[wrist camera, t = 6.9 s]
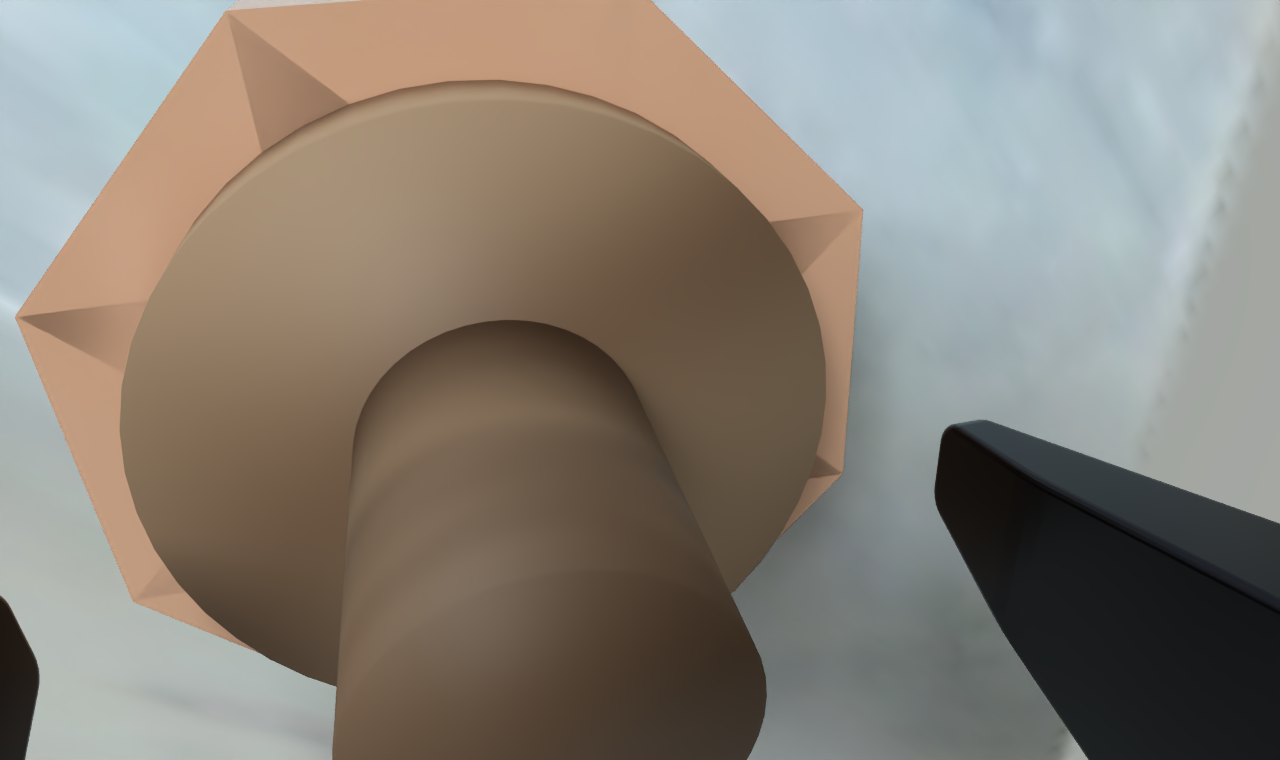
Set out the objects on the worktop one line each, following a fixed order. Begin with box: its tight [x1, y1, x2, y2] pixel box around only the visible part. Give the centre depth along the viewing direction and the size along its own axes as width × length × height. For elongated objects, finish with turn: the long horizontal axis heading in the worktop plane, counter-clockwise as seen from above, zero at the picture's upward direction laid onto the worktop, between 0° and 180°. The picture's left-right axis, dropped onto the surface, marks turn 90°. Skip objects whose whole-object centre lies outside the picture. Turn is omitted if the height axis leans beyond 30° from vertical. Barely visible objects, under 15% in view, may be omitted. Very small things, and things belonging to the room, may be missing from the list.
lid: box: [119, 80, 826, 760], centre depth 9 cm, size 8×8×5 cm
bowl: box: [15, 0, 863, 653], centre depth 13 cm, size 9×9×4 cm
